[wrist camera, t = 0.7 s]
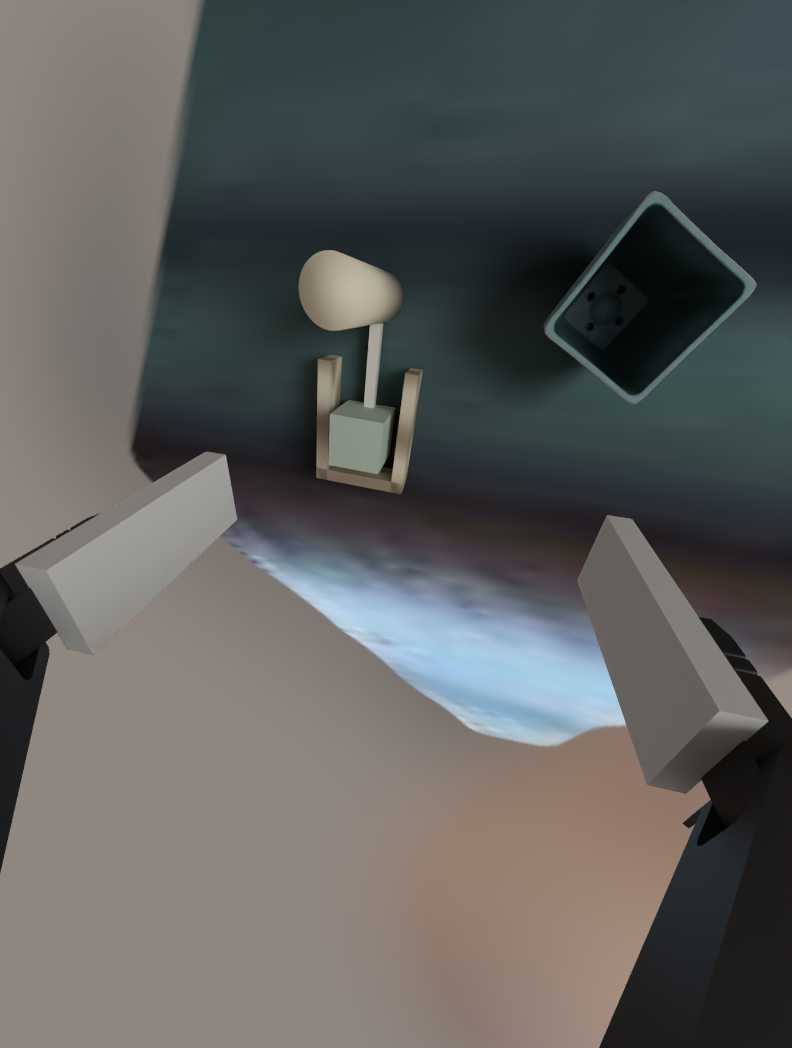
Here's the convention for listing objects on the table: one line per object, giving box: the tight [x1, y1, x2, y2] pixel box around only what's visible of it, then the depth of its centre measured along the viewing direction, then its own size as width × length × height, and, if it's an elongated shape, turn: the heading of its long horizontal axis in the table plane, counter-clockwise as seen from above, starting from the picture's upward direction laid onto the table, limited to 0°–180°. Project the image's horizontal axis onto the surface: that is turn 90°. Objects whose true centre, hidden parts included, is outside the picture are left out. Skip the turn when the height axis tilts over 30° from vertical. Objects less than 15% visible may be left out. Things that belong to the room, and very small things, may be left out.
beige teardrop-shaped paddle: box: [299, 250, 403, 474], centre depth 31 cm, size 16×5×14 cm, turn 173°
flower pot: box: [544, 191, 756, 404], centre depth 28 cm, size 9×9×9 cm
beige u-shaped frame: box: [316, 355, 423, 494], centre depth 38 cm, size 12×9×4 cm
